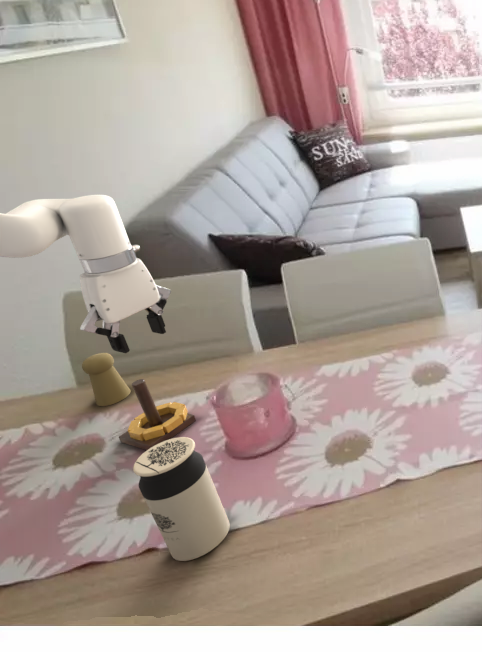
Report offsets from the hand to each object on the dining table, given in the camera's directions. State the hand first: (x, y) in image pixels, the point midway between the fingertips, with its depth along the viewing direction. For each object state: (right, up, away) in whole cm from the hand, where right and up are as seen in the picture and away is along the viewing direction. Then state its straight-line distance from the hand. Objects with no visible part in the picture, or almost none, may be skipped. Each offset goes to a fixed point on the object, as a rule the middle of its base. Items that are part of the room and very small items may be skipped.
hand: (141, 341), depth 107 cm
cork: (-19, -16, +15) cm, 29 cm away
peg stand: (0, -20, +4) cm, 20 cm away
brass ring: (0, -18, +4) cm, 19 cm away
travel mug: (+27, -28, -19) cm, 44 cm away
